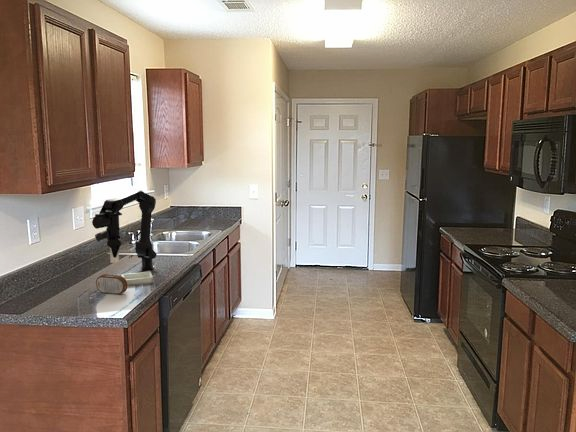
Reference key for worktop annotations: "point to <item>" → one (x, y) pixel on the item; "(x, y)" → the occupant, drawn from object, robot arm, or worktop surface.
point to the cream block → (113, 257)
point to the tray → (138, 278)
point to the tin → (111, 284)
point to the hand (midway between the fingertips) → (114, 256)
